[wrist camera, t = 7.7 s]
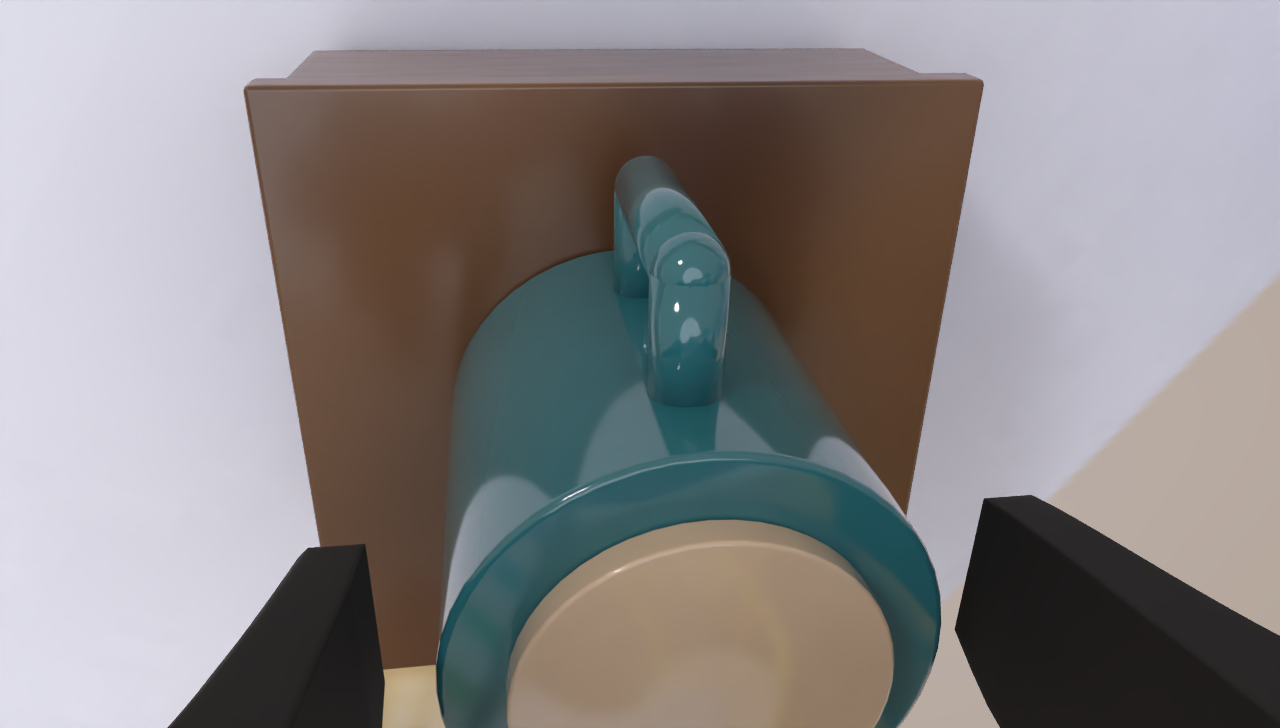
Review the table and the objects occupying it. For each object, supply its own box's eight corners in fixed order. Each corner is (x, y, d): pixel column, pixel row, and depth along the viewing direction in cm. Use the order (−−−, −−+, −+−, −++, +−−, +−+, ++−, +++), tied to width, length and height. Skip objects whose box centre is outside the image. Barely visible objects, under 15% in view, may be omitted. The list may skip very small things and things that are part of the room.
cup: (821, 126, 13) (1048, 288, 8) (777, 535, 16) (917, 845, 11) (427, 131, 12) (386, 316, 7) (463, 560, 16) (452, 905, 10)
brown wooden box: (876, 29, 18) (1006, 80, 13) (820, 475, 22) (903, 623, 18) (306, 30, 16) (241, 86, 12) (370, 507, 21) (341, 675, 16)
